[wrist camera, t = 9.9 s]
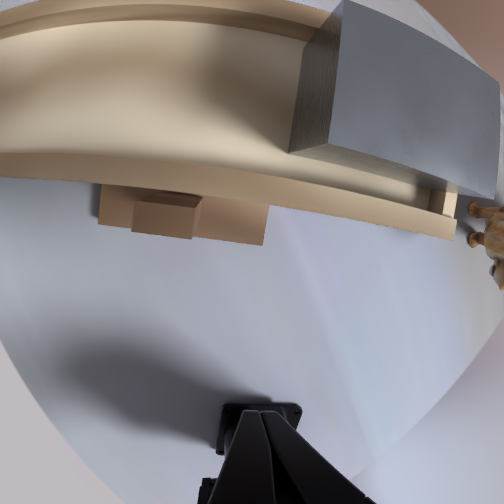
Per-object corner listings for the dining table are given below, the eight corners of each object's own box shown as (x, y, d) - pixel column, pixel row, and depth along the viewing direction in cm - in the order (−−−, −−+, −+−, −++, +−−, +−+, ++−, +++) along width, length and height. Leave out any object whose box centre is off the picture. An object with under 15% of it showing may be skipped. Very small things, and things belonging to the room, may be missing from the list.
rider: (425, 189, 13) (494, 199, 8) (287, 153, 12) (327, 143, 7) (434, 97, 12) (499, 83, 7) (303, 48, 11) (343, -2, 6)
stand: (259, 242, 19) (283, 278, 12) (103, 221, 18) (49, 246, 11) (294, 34, 16) (328, -21, 9) (143, 17, 15) (117, -41, 8)
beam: (420, 230, 14) (452, 241, 12) (-32, 173, 11) (-63, 175, 8) (437, 87, 13) (469, 78, 10) (-1, 35, 9) (-26, 21, 6)
